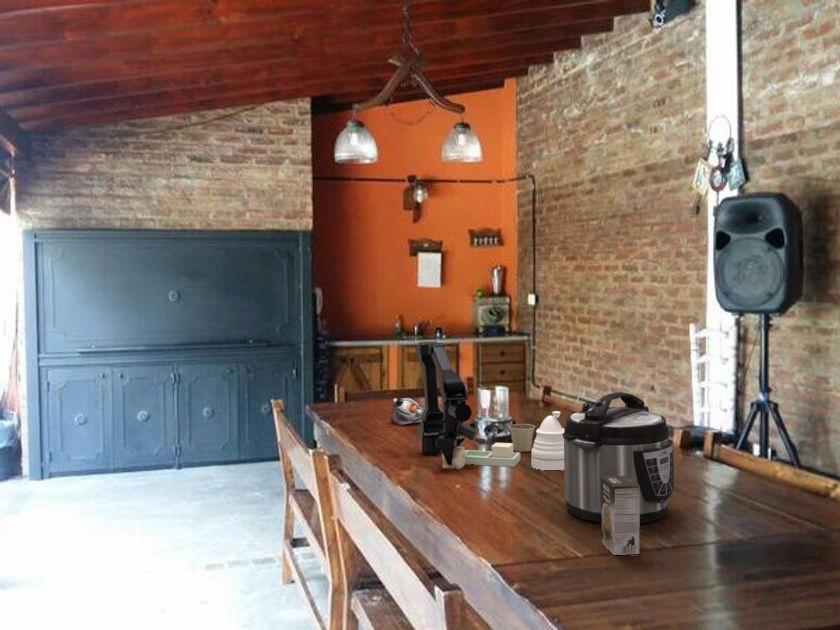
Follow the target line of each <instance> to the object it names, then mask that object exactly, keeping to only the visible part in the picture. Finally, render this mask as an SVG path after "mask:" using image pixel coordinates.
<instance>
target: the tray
mask: <svg viewBox="0 0 840 630" xmlns="http://www.w3.org/2000/svg"><path fill="white" fill-rule="evenodd" d="M520 461H521V452H516V451H515V452H514V450H513V443H512V442H511V443H509V442H495V443H494V444H492V445H491V450H476V449H474V450H473V449H465V465H471V464H474V465H475V466H489V465H490V466H491V467H493V466H494V467H509V468H514V467H516V466H517V465H518V464H519V462H520Z"/></svg>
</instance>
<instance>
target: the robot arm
mask: <svg viewBox="0 0 840 630" xmlns="http://www.w3.org/2000/svg"><path fill="white" fill-rule="evenodd" d="M414 351H415V355H416V357H417V361H418V363H419V364H420V366H421V367H422V375H423V376H422V378H423V391H424V392H423V393H424V405H425V406H424V409H423V414H422V416H421V422H420V423H419V425H418V428H417V435H418V437H420V438H421V452H420V455H426V456H427V455H428V456H439V455H440V454H442V453H443V455H444V457H445V459H446V461H447V464H448V465H452V459H453V452H454V449H455V448H456V447H462V446H461V445H462V444H463V442H465V441H466V440H467V439H468V440H469V441H474V440H475V439H476V437H477V435H478V433H479V428H478V425H477V423H476V422H474V421H472V422H471V423H464V422H468V421H469V420H470V418H471V417H472V414H473V412H472V408H471V407H470V405H468V404H467V403H466V402H467V401H468V399H469V397H468V396H469V393H468V390H467V388H466V384H465V383H464V381H463V380H462V377H461V376H460V374H458V373H457V372H455V371H454V370H453V367H452V365H451V363H450V361H449V358H448V355H447V354H446V351H445V345H444V343H442V342H437V341H436V340H435V341H421V342H418V345H416V346H415V350H414ZM437 374H438V377H439V379H440V380H439V382H438V378H437ZM438 386H439V387H438ZM438 389H439V392H438ZM439 393H440V394H441V397H442V398H441V400H442V402H443V404H442V407H443V409H440V407H439V406H440V405H439ZM442 410H443V411H442Z"/></svg>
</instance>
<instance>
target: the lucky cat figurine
mask: <svg viewBox="0 0 840 630" xmlns="http://www.w3.org/2000/svg"><path fill="white" fill-rule="evenodd" d="M423 412H424V408H423V407H421V406H420V405H419V403H418V402H417V401H415V400H413V399H412V398H409V397H405V398H404V397H403V398H396V397H395V398H393V400H392V410H391V412H390V413H391V418H390V421H392V422H393V424H394V425H397V424H398V426H405V425H407V424H417V423H418V424H420V422H421V416H422V414H423Z"/></svg>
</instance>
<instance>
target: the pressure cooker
mask: <svg viewBox="0 0 840 630" xmlns="http://www.w3.org/2000/svg"><path fill="white" fill-rule="evenodd" d="M616 399H621V401H622V402H623V404H624V406H615V407H610V406H611V403H612V401H613V400H616ZM666 419H667V418H666V417H664V415H661V414H659V413H655V412H650V409H649V406H646V405H645V401H643V400H642V399H641V398H640V397H638V396H636V395H633V394H631V393H628V392H612V393H608V394H606V395H604V396H602V397H600V398H599V399H597V400H596V401H595V402H593V401H586V402H584V403H583V404H582V408H581V410H580V411H576V412H572V413H570V414H568V415H567V416H566V419H565V420H566V424H564V425H563V426H564V427H563V429H564V433H562V435H563V438H564V470H563V471H564V475H563V477H564V501H565V504H566V507H567V508H568V510H569V511H570V513H571V514H572V515H574V516H576V517H578V518H580V519H583V520H586V521H591V522H595V523H601V524H602V509H601V477H602V476H627V477H629V478H630V479H631V480H632V481H634V482H635V483H636V484H638V485H639V486H640V524H645V523H650V522H653V521H656V520H659V519H661V518H662V517H664V516H665V515H666V513H667V512H668V508H669V505H670V498H671V495H672V493H673V491H674V488H675V487H674V486H675V483H674V482H675V469H674V467H675V464H674V463H675V460H674V441H673V440H672V439H670V435H669V433H670V432H669V427H668V426H667V420H666Z"/></svg>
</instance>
